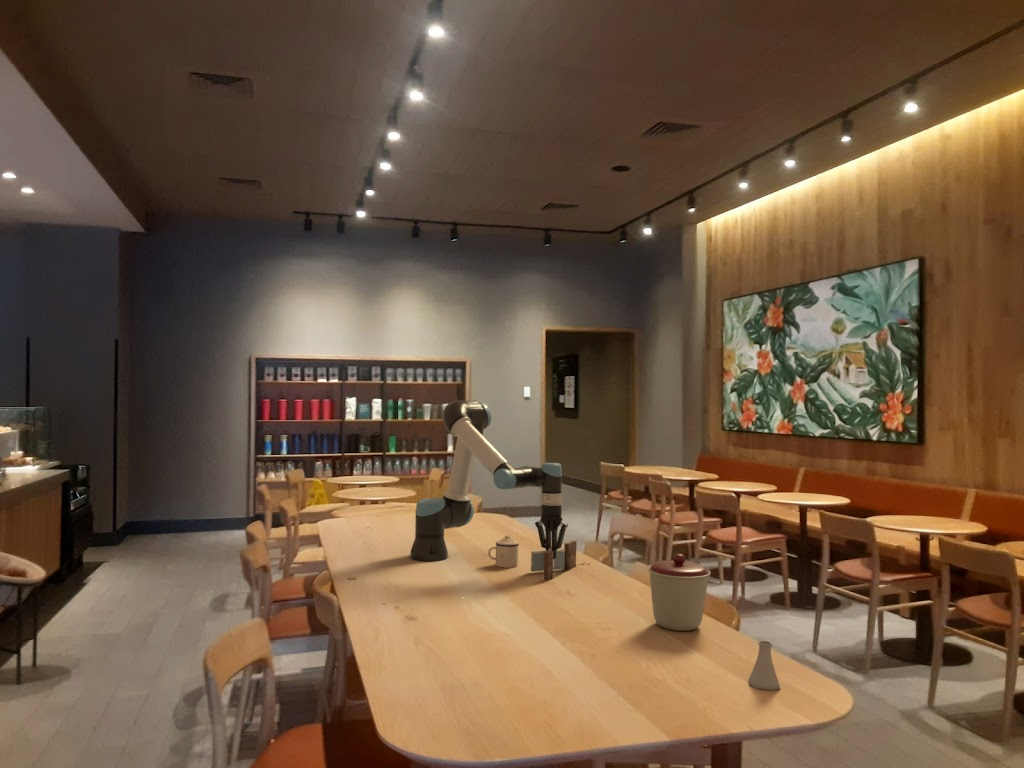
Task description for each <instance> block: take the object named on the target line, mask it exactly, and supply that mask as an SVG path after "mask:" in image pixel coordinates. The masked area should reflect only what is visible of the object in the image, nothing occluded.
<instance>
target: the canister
mask: <svg viewBox="0 0 1024 768" xmlns="http://www.w3.org/2000/svg"><path fill="white" fill-rule="evenodd" d="M647 571H648V572H649V580H650V593H651V594H650V595H651V604H652V613H653V618H654V621H655V623H656V624H657V625H658V626H659V627H661V628H663V629H667V630H671V631H679V632H681V631H682V632H687V631H689V632H690V631H692V630H696V629H698V628H699V627H700V626H701V624H702V621H703V617H704V616H703V615H704V609H705V604H706V596H707V589H708V580H709V577H710V576H711V571H710V570H709V569H707V568H706V567H705V566H704V565H701V564H699V563H694V562H691V561H686V557H685V555H684V554H682V553H675V554H674V555H673V557H672V560H660V561H657V562H653V563H652V564H651V565H649V566H648V567H647Z"/></svg>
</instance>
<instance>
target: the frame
mask: <svg viewBox="0 0 1024 768" xmlns="http://www.w3.org/2000/svg"><path fill="white" fill-rule="evenodd" d="M563 543H564V547H563V549H565V566H564V569H560V570H559V571H558V572H555V573H553V571H554V570H553V551H547V552H544V571H543V577H542V578H543V581H551V580H553V579H555V578H557V577H559V576H561V575H563V574H565V573H566V572H569V571H570V570H572V569H573V568H576V567H577V540H569V541H567V542H563ZM564 572H565V573H564ZM562 573H563V574H562Z"/></svg>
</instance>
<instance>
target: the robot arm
mask: <svg viewBox="0 0 1024 768" xmlns="http://www.w3.org/2000/svg"><path fill="white" fill-rule="evenodd" d="M441 415H442V416H441V417H442V423H443V425H444V427H445V429H446V430H447V431H448V432H449V433H450V434H451V436H453V437H456V444H455V447H454V449H455V450H454V455H453V460H452V465H451V470H450V476H449V481H448V487H447V490H446V491H445V492H443V493H442V497H427V498H423V499H421V500H420V499H419V501H418V502H416V507H415V512H414V513H415V523H414V524H415V526H414V528H415V530H414V532H415V534H414V540H413V544H412V546H411V549H410V552H409V557H410V559H412V560H416V561H423V562H434V561H435V562H437V561H442V560H443V561H444V560H447V559H448V556H449V554H448V553H449V552H448V547H447V544H446V541H445V530H448V529H454V528H455V529H456V528H460V527H464V526H467V525H468V524H469V523H471V521H472V519H473V516H474V511H475V510H474V509H475V508H474V506H473V502H472V501H471V496H470V495H469V489H470V484H471V479H472V474H473V469H474V463H475V457H476V459H477V460H478V461H479V462H480V463H481V464H482V466H483V467H485V469H487V471H488V472H490V474H491V475H492V476H493V482H494V485H495V487H496V488H497V489H499V490H513V489H521V488H530V487H533V488H541V503H542V504H541V516H540V520H537V521H535V522H534V525H535V527H536V528H537V533H538V537H539V541H540V542H539V543H540V547H541V548H542V549H544V550H546V552H547V551H553V567H554V559H555V558H556V551H557V549H562V548H563V543H564V537H565V533H566V530H567V528H568V527H569V524H568V523H566V522H564V520H563V517H562V508H563V507H562V502H563V501H562V500H563V499H562V483H563V474H562V472H563V471H562V470H563V469H562V465H561V463H558V462H543V463H542V464H541V467H538V466H537V467H536V466H528V465H526V466H522V465H521V466H518V467H513V466H512V465H511V464H510V463H509V462H508V461H507V460H506V459H505V457H504V456H503V455H502V454H501V452H499V451H498V450H497V449H495V446H493V445H492V444H491V442H489V441H488V440H487V439H486V437H485V436H484V430H486V429H487V428H489V426H490V424H491V423H492V412H491V409H490V408H489V406H488V405H487V404H486V403H485V402H483V401H478V400H452V401H451V402H449V403H447V404H446V406H445V407H444V408H443V411H442V414H441ZM543 526H544V527H543ZM559 528H560V529H559ZM558 531H559V532H558Z"/></svg>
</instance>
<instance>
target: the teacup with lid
mask: <svg viewBox="0 0 1024 768" xmlns="http://www.w3.org/2000/svg"><path fill="white" fill-rule="evenodd" d="M519 545H520V543H519V541H517V540H515V539H513V538H511V536H510V535H508V534H507V535H504V537H502V538H501V539H500V540H496V542H495V546H491V547H489V549H488V551H487V554H488V556H489V559H491V560H493V561H495V566H497V567H499V568H503V567H504V568H506V569H510V568H515V567H517V566H518V565H519V563H518V562H519V558H518V557H519ZM492 550H495V557H493V556H492V555H491V551H492Z"/></svg>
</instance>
